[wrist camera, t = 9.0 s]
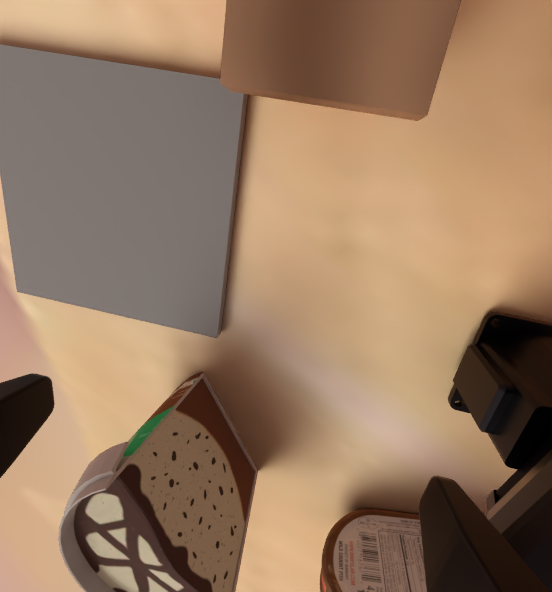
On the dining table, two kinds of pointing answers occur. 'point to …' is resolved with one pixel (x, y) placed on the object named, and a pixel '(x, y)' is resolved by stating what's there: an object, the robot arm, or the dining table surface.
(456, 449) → the dining table surface
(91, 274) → the mat
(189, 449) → the food container
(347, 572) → the tin
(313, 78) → the lid
